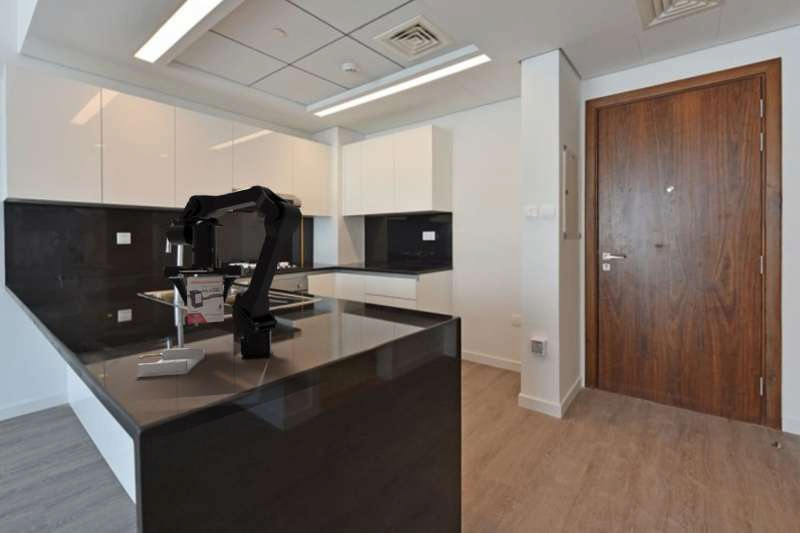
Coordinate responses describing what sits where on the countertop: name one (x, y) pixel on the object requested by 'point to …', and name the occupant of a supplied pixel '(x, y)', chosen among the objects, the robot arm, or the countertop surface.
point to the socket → (173, 362)
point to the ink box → (205, 299)
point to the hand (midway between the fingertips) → (205, 303)
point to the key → (149, 355)
